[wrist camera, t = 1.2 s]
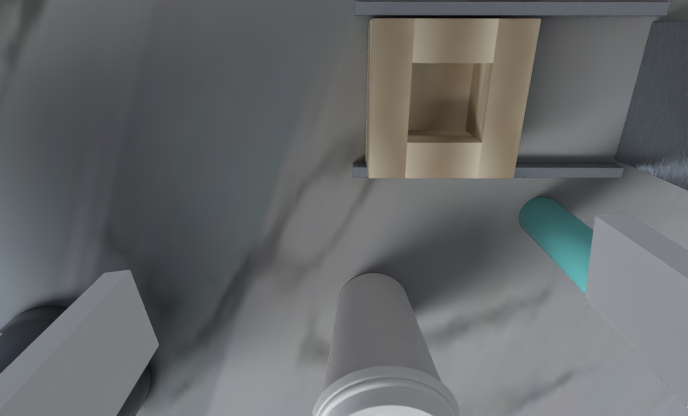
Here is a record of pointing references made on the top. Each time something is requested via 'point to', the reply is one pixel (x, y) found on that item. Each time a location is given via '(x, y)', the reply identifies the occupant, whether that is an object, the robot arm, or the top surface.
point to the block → (447, 96)
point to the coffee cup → (380, 357)
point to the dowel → (559, 236)
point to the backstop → (647, 101)
